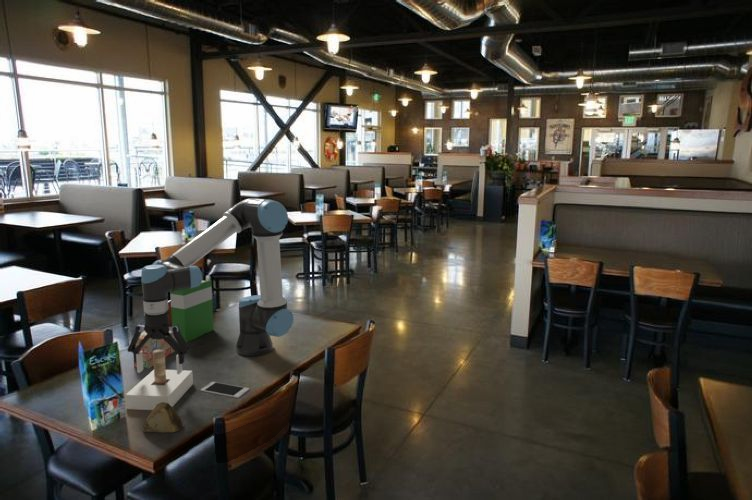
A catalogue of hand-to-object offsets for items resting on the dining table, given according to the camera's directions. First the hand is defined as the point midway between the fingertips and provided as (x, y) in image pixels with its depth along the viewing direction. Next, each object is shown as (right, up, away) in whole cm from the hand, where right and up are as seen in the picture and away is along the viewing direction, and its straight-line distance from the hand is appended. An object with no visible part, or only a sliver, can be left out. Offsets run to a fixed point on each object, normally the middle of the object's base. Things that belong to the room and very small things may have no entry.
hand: (160, 371), depth 178 cm
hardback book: (-9, +3, +60) cm, 61 cm away
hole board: (0, -9, +2) cm, 9 cm away
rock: (+9, -13, -19) cm, 25 cm away
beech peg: (0, -9, +2) cm, 9 cm away
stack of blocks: (-15, -2, +34) cm, 37 cm away
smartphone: (+20, -9, +7) cm, 23 cm away
